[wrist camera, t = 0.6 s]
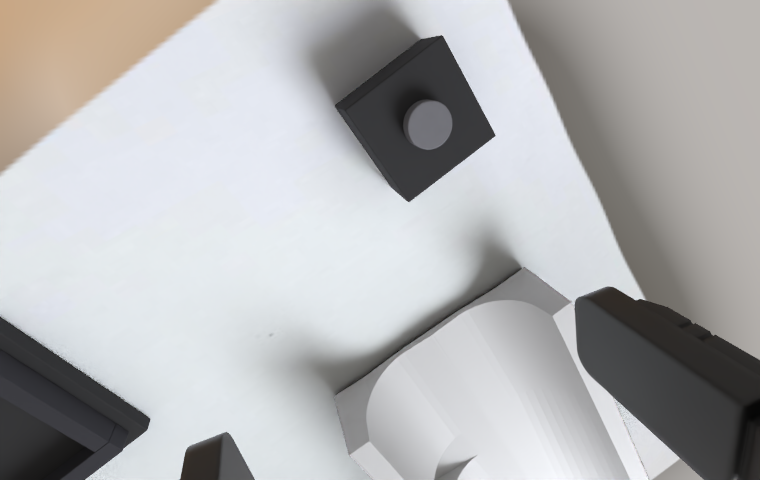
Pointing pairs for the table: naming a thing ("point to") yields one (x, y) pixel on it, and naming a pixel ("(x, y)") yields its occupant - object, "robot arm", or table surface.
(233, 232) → the table surface
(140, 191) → the table surface
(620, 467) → the white notched trough tray
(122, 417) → the base pad
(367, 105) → the dark block with knob
